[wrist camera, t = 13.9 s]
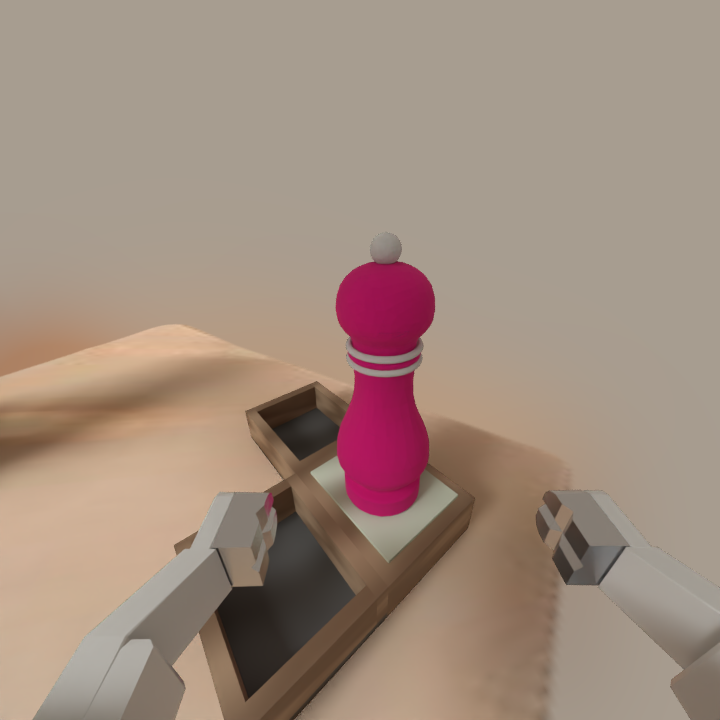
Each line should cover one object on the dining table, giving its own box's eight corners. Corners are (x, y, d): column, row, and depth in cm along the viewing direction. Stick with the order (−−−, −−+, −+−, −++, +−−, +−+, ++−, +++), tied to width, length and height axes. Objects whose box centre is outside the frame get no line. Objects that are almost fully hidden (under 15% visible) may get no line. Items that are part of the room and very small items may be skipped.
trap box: (160, 480, 32) (145, 450, 30) (319, 404, 43) (316, 379, 41) (248, 768, 16) (230, 745, 14) (467, 527, 27) (475, 495, 25)
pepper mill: (355, 537, 22) (340, 244, 13) (330, 464, 28) (308, 230, 19) (441, 506, 24) (485, 234, 15) (401, 445, 30) (413, 224, 21)
